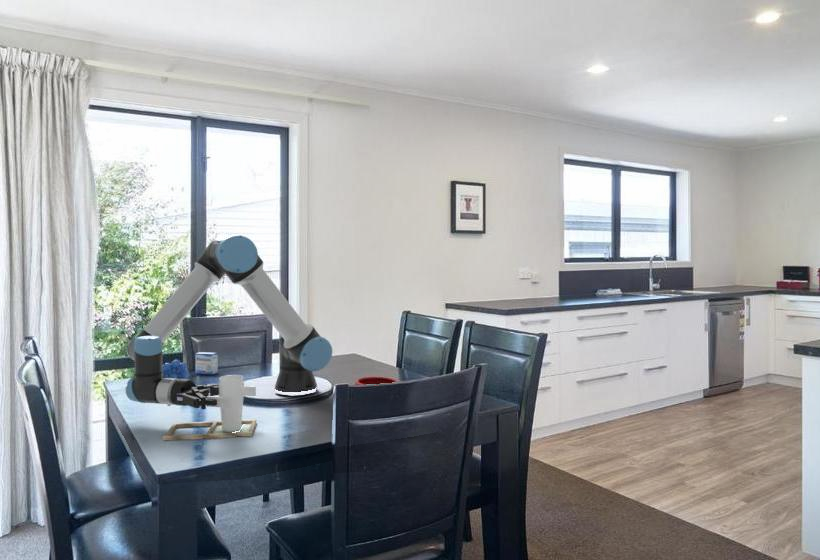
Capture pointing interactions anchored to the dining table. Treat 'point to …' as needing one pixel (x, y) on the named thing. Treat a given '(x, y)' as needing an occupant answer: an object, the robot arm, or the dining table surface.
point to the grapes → (175, 370)
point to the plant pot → (374, 380)
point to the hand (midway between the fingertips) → (242, 396)
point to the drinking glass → (232, 401)
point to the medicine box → (206, 363)
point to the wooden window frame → (211, 430)
